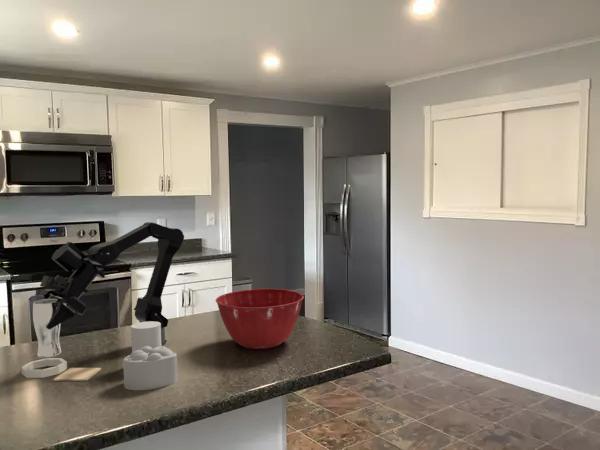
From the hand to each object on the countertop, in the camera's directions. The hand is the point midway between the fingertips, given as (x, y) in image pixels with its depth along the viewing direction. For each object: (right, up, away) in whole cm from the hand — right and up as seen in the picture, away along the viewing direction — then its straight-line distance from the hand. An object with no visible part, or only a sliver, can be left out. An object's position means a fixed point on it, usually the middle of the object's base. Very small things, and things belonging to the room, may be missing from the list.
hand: (42, 326), depth 142 cm
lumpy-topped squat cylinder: (+32, -13, -8) cm, 35 cm away
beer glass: (+1, -8, +2) cm, 8 cm away
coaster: (+10, -13, -1) cm, 17 cm away
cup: (+28, -13, +5) cm, 31 cm away
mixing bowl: (+59, -11, +26) cm, 65 cm away
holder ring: (-1, -13, +2) cm, 13 cm away
